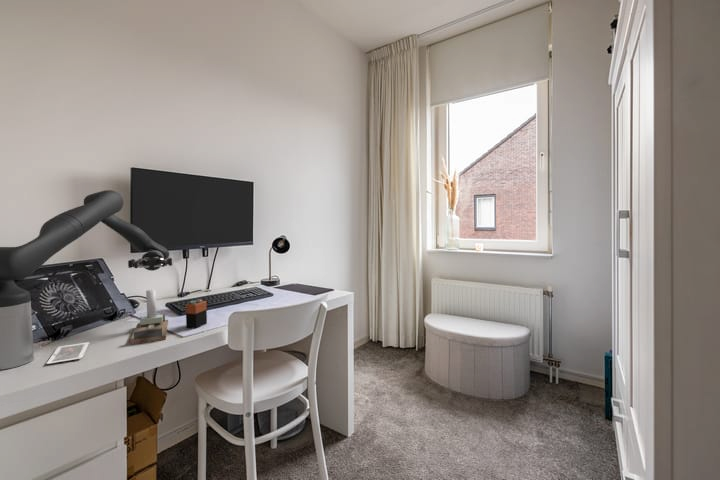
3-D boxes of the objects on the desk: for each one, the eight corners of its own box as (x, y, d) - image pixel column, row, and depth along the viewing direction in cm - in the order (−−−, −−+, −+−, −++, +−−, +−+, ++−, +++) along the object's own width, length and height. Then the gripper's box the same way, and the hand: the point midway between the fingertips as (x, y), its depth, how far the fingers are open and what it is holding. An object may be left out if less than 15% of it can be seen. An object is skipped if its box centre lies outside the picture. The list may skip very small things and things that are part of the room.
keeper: (140, 325, 123) (139, 292, 123) (141, 322, 127) (140, 290, 126) (162, 322, 127) (161, 290, 126) (163, 319, 130) (162, 288, 130)
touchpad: (89, 345, 111) (89, 338, 111) (82, 361, 99) (81, 354, 98) (58, 350, 107) (58, 343, 107) (46, 367, 94) (45, 360, 94)
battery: (185, 328, 128) (184, 302, 127) (197, 322, 134) (197, 297, 134) (195, 328, 127) (195, 302, 126) (207, 323, 133) (206, 298, 133)
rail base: (130, 344, 111) (130, 332, 110) (137, 327, 128) (137, 316, 128) (165, 339, 115) (165, 328, 115) (168, 323, 133) (167, 313, 133)
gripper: (131, 251, 135) (125, 255, 120) (172, 250, 141) (171, 253, 127) (132, 270, 135) (126, 276, 121) (173, 268, 142) (172, 273, 127)
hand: (149, 264), depth 124 cm, fingers open, 8 cm apart
